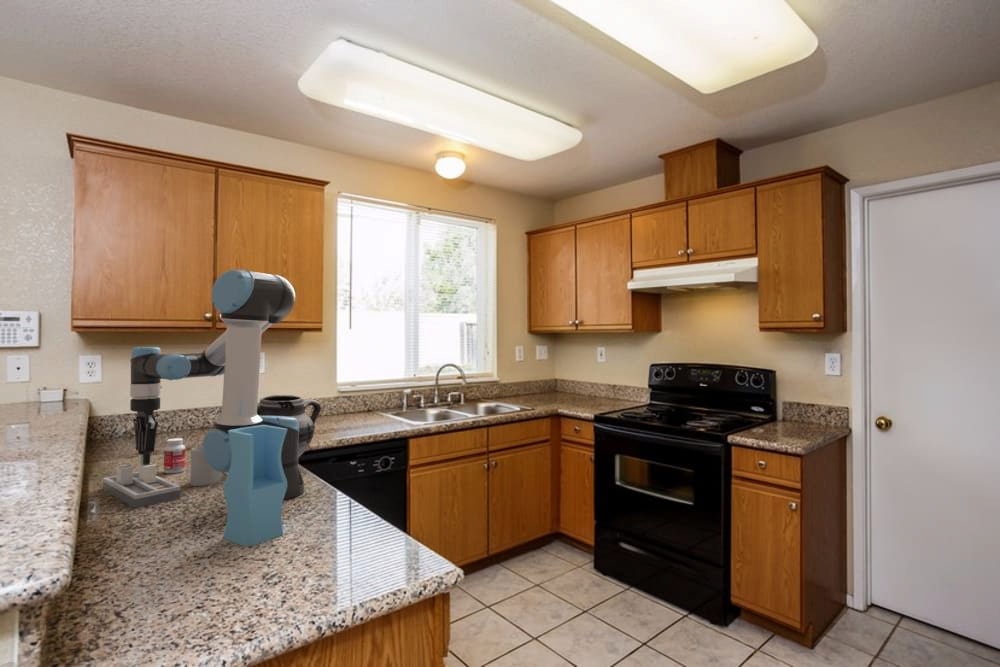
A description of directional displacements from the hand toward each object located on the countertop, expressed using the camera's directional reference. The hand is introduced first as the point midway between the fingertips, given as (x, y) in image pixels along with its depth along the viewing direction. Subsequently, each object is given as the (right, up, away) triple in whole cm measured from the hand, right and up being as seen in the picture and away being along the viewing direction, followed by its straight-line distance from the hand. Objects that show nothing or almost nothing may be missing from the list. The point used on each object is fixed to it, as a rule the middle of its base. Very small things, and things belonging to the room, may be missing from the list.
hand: (144, 474), depth 155 cm
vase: (+51, -5, -35) cm, 62 cm away
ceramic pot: (+29, -5, +29) cm, 41 cm away
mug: (+14, -5, +9) cm, 17 cm away
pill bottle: (-3, -5, +19) cm, 20 cm away
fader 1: (-3, -2, -4) cm, 5 cm away
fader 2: (+2, -2, -2) cm, 3 cm away
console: (+2, -4, -5) cm, 7 cm away
